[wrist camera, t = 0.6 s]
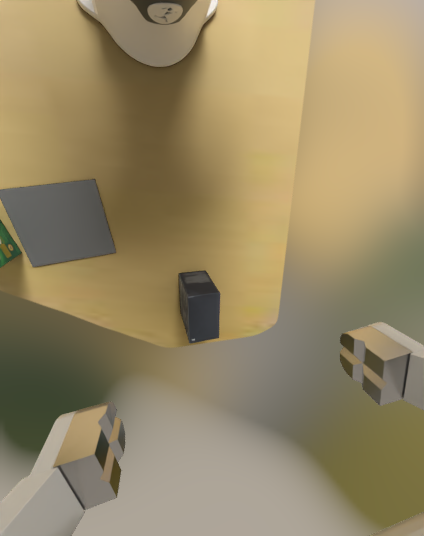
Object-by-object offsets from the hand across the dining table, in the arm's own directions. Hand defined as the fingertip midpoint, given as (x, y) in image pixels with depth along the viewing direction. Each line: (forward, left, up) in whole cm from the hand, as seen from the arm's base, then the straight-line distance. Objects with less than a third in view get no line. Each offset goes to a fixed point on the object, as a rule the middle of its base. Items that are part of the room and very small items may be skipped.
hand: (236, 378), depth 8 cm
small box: (+20, +4, -40) cm, 44 cm away
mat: (+1, -17, -39) cm, 43 cm away
